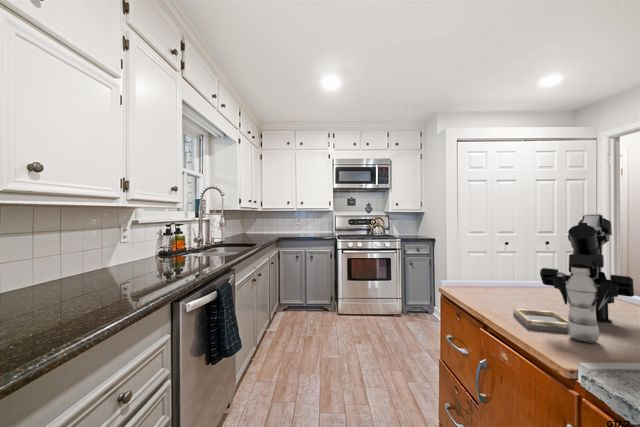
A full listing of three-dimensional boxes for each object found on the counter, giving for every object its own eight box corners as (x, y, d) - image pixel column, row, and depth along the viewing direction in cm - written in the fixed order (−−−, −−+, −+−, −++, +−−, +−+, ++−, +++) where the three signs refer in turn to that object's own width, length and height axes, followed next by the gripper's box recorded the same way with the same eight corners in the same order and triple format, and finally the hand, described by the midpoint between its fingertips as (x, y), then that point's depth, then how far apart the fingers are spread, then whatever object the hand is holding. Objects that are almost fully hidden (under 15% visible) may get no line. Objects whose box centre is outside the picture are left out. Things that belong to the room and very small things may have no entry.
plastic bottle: (560, 335, 76) (557, 265, 77) (581, 334, 77) (578, 265, 77) (584, 346, 70) (581, 269, 70) (607, 345, 71) (604, 269, 71)
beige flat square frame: (555, 318, 89) (555, 311, 89) (576, 333, 78) (576, 325, 78) (513, 315, 93) (513, 308, 93) (527, 328, 82) (527, 320, 82)
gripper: (540, 241, 84) (532, 282, 77) (631, 245, 69) (632, 296, 62) (547, 264, 89) (539, 304, 81) (633, 272, 74) (634, 322, 67)
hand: (581, 306), depth 73 cm, fingers closed on plastic bottle, 6 cm apart
